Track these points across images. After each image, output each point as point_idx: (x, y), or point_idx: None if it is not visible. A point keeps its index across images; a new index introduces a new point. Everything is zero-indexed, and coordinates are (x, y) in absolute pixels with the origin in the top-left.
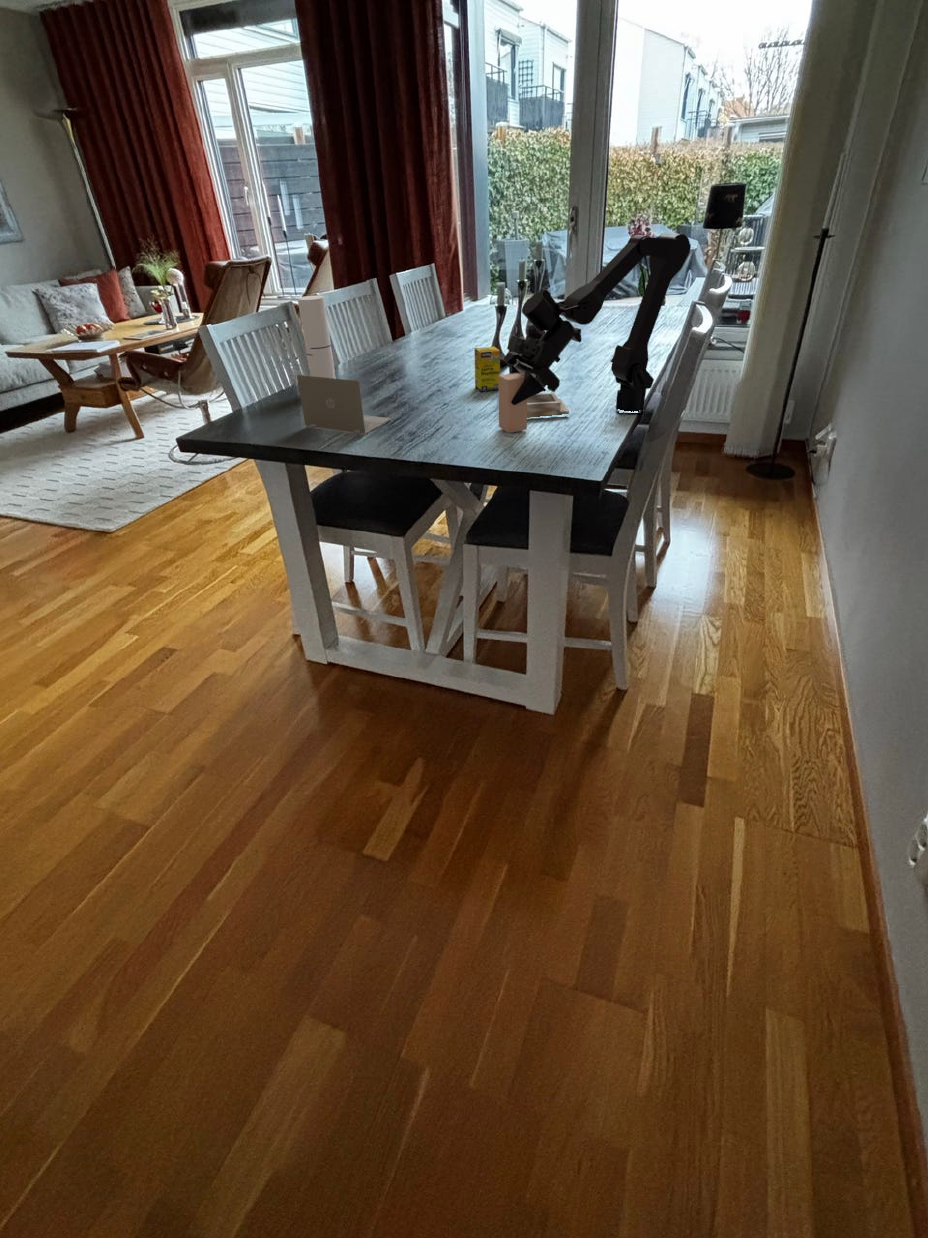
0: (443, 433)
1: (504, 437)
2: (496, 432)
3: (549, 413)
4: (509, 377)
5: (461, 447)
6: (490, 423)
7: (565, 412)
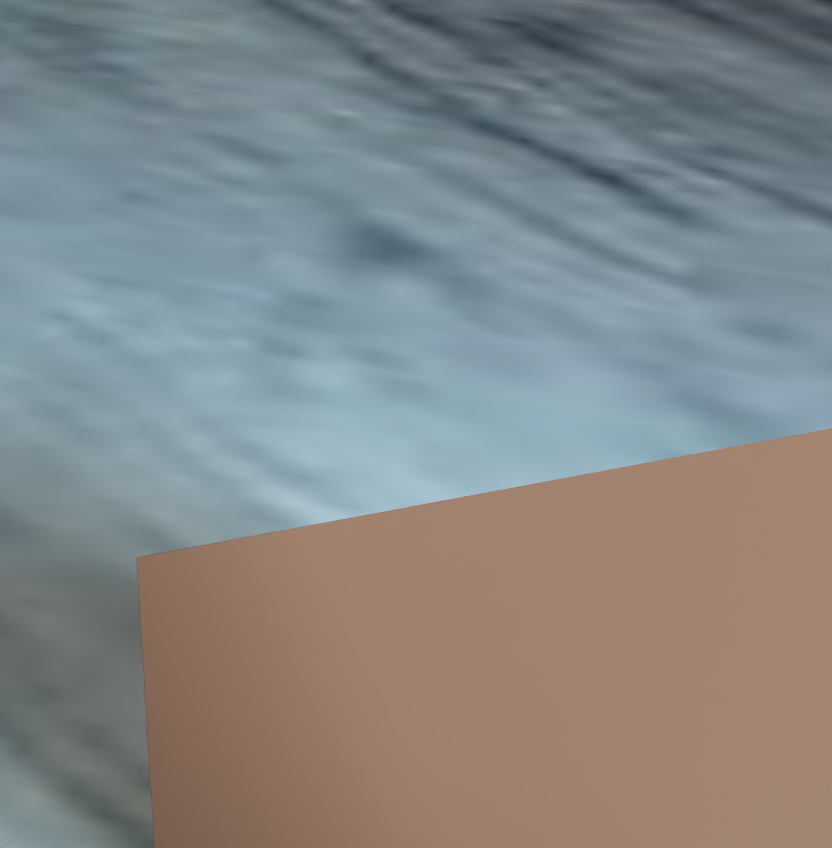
0: (512, 197)
1: None
2: None
3: None
4: (570, 744)
5: (131, 248)
6: None
7: None
